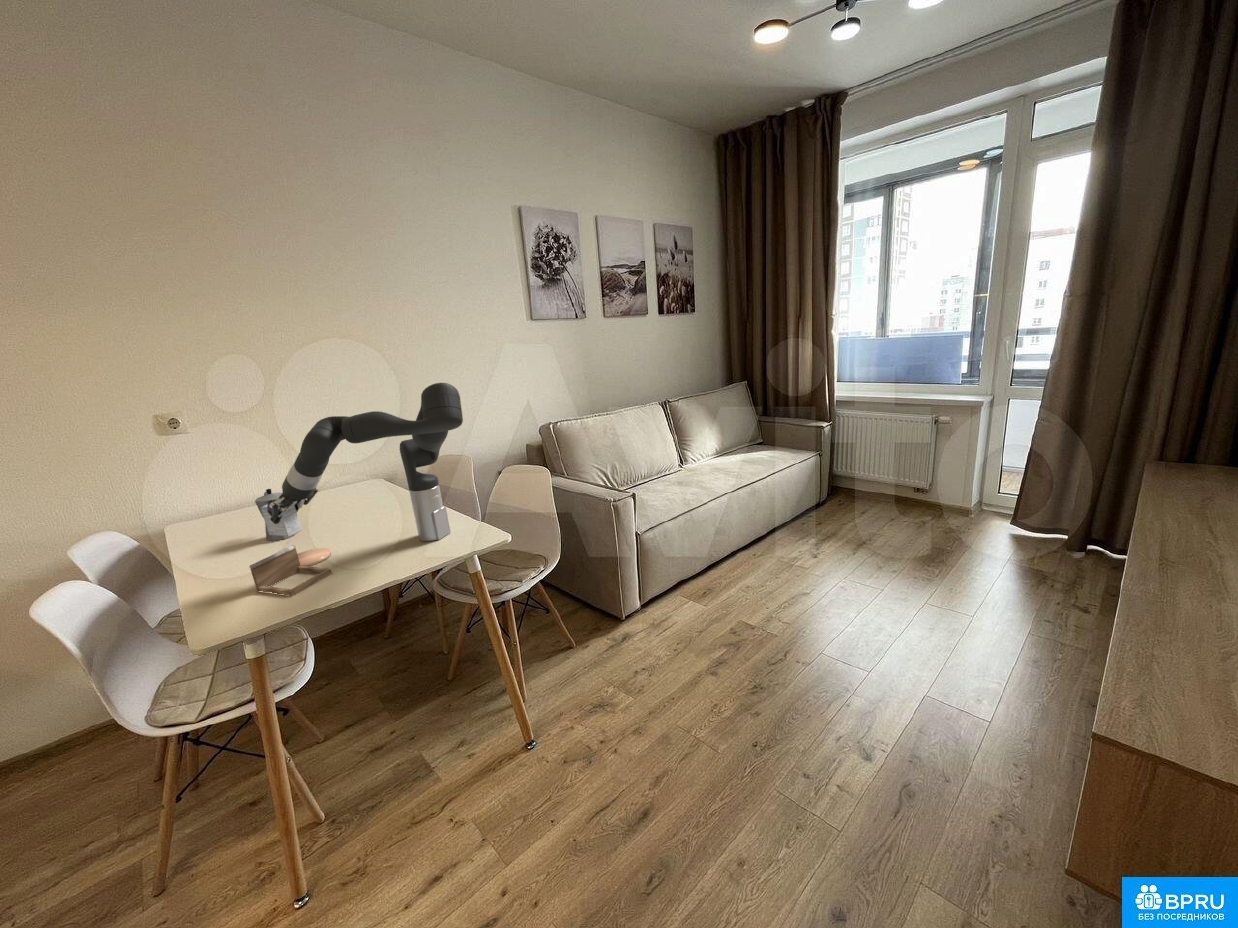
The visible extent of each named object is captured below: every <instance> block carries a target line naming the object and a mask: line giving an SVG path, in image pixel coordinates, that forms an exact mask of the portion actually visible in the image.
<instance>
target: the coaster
mask: <svg viewBox="0 0 1238 928" xmlns="http://www.w3.org/2000/svg"><path fill="white" fill-rule="evenodd" d="M297 555H298V558H299V562H300V566H309V567H313V566H315V565H317V564H319V563H322V562H324V561H326V560H327V559H329V558H330V557H331V555H332V552H331V549H329V548H327V547H326V548H325V547H318V548H312V549H307V550H303V551H301V552H299V553H298V552H297Z"/></svg>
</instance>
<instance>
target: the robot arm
mask: <svg viewBox="0 0 1238 928" xmlns="http://www.w3.org/2000/svg"><path fill="white" fill-rule="evenodd" d="M463 419H464V418H463V410H462V401H461V396H460V393H459V391H458V389H457V388H456V387H455V386H454V385H452V384H451V383H447V382H436V383H433V384H431V385H428V386H427V387H425V388H424V390H422V393H421V395H420V408H419V411H418V413H417V416H416V418H415V420H408V419H406V418H402V417H399V416H396V415H393V414H391V413H388V412H385V411H384V412H383V411H378V410H377V411H368V412H363V413H360V414H354V415H351V416H349V415H348V416H347V415H346V416H344V415H343V416H342V415H341V416H340V415H339V416H338V415H337V416H335V415H333V416H326V417H324V418H321V419H320V420H318V421H317V422H316V423H315V424H314V425H313V426H312V428H311V429H310V430H309V431H308V432H307V434H306V435H305V436H304V438H303V440H302V444H301V446H300V450H299V451H300V452H299V453H298V455H297V457H296V459H295V461H294V462H293V464H292V465H291V467H290V468H289V469H288V470H289V471H287V475H286V476H285V478H284V480H283V482H282V484H281V489H282V490H281V493H282V494H281V495H280V496H279V499H278V500H276V501H273V500H270V501H268V505H267V512H268V513H269V514H270V515H271V518H270V520H271V521H272V522H273V523H274V524H278V523H279V521H280V519H281V517H282V515H283V514H284V513H285V512H286V511H289V510H290V508H291V507H292V506H293V505H295V508H296V512H297V513H298V512H299V510H300V509H302V508H303V505H304V506H307V505H308V504H309V503H310V502H311V500H312V499H313V498H314V497H315V496H316V494H318V492H319V490H318V489H317V487H318V485H319V484H320V481H321V480H322V477H323V474H324V472H325V470H326V468H327V467H328V465H329V463H330V462H329V461H330V457H331V456H332V454H333V453H334V451H335V450H336V448H337V447H338V445H339V444H340V443H341V442H342V441H344V440H345V441H347V442H348V443H350V444H363V443H365V442H366V443H368V442H369V441H374V440H379V439H383V438H391V437H400V436H401V437H405V436H411V439H406V440H405V439H404V440H401V442H400V443H399V454H400V458H401V461H402V465H403V469H404V472H405V476H406V481H407V486H408V490H409V491H408V492H409V496H410V502H411V505H412V511H413V515H414V519H415V521H414V522H415V524H416V530H417V534H418V539H419V540H420V541H422V542H432V541H439V540H441V539H443V538H444V537H446V536H447V535H449V534H450V533H451V527H450V522H449V518H448V512H447V507H446V505H444V503H443V498H442V494H441V488H440V482H439V478H438V477H437V475H435V474H430V473H423V472H420V471H417V469H418V468H422V467H426V466H430V465H433V464H435V463H437V461H438V458H439V456H440V450H441V448H442V445H443V444H444V442H445V441H446V438H447V436H448V434H449V431H453V430H456V429H457V428H460V427H461V426H462V425H463V422H464V420H463ZM286 506H287V507H286ZM279 508H280V509H281V512H280V511H279V510H278V509H279Z"/></svg>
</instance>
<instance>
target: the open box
mask: <svg viewBox="0 0 1238 928" xmlns="http://www.w3.org/2000/svg"><path fill="white" fill-rule="evenodd" d="M297 554H298V552H297V547H296V545H295V544H293V545H290V546H288V547H286V548H284V549H281V550H279V551H278V552H276V553H274V554H271V555H269V556H267V557H265V558H262V559H261V560H258V561H256V562H254V563H253V564H250V565H249V566H248V568H249V569H250V571H251V576H252V578H253V579H252V580H253V581H254V586H255V588H256V592H257V591H263V592H272V593H277V594H284V595H289V596H288V597H293V595H294V596H295V595H297V594H299V593H301V592H302V591H304V590H306V589H308V588H309V587H311V586H313V585H315V584H316V583H318V582H319V581H322V580H323V579H325V578H326V577H328V576H330V575H332V574H333V571H332V568H329V567H320V566H319V567H318V566H300V562H299V558H298V555H297ZM298 573H306V574H307V573H309V574H316V575H314V576H312V577H311V578H309V579H307V580H305V581H304V582H301V583H300V584H298V585H296V586H295V587H292V588H286V587H285V588H284V587H283V588H282V587H275V586H274V585H273V584H275V583H277V582H279V581H281V580H282V581H284V580H286V579H288V578H290V577H291V576H294V575H295V574H298ZM289 576H290V577H289ZM285 578H286V579H285ZM283 579H284V580H283ZM282 581H281V582H282ZM279 583H280V582H279ZM277 584H278V583H277ZM271 585H273V586H271ZM275 585H276V584H275ZM269 586H271V587H269ZM300 591H301V592H300ZM298 592H299V593H298ZM296 593H297V594H296ZM284 595H283V596H284Z"/></svg>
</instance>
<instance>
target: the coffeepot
mask: <svg viewBox="0 0 1238 928" xmlns="http://www.w3.org/2000/svg"><path fill="white" fill-rule="evenodd" d="M282 493H283V492H273V493H272V488H266V489H265V492H264V493H263V495H262V496H260V497H257V498H256V499H255V500H254V503H255V505H256V506H257V507H256V508H257V509H258V511H259V513H260V515H261V516H262V518H263V519H264V517H263V514H262V511H261V507H263V506H265V505H267V504H268V501H270V500H273V501H276V500H278V499H279V496H280V495H281V494H282ZM264 525H265V527H264V528H265V539H266V541H267V542H269V541H276V542H281V541H285V540H287V539H291V538H292V537H294V536H295V535H296V534H297V533H295V534H293V535H291V536H279V535H269V533H268V530H267V527H266V523H265V522H264ZM280 540H281V541H280Z"/></svg>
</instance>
